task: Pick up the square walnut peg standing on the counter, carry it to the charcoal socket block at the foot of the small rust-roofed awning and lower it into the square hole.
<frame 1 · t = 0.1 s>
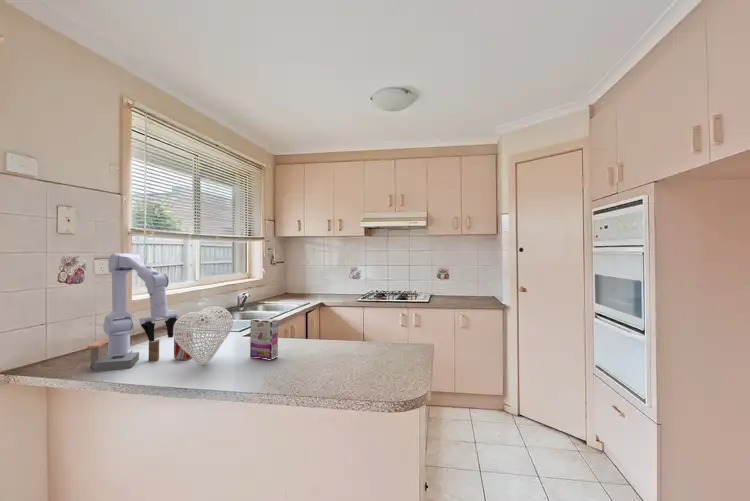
hand: (161, 339, 145), 10 cm above the table, tool pointing down, fingers open, 7 cm apart
socket block: (117, 364, 146), on the table
heart: (204, 365, 147), on the table
soda can: (183, 358, 156), on the table
candy bar box: (263, 358, 158), on the table
peg: (153, 360, 153), on the table
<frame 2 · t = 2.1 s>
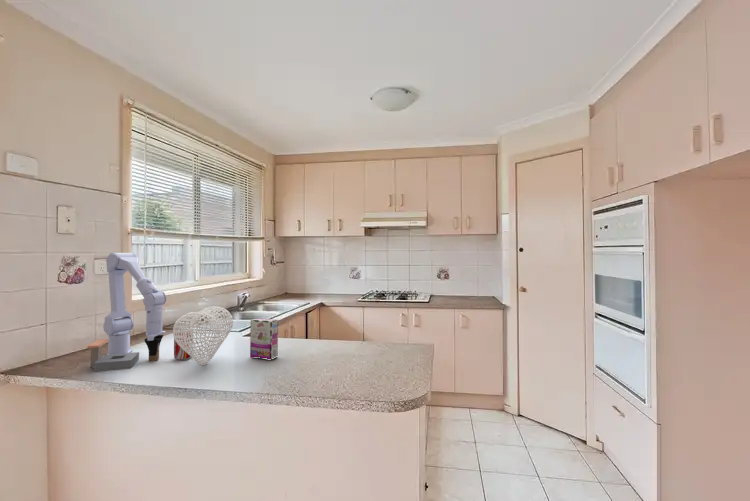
hand: (153, 354, 153), 2 cm above the table, tool pointing down, fingers closed on peg, 3 cm apart
peg: (153, 360, 153), on the table, touching gripper
everything else where it was.
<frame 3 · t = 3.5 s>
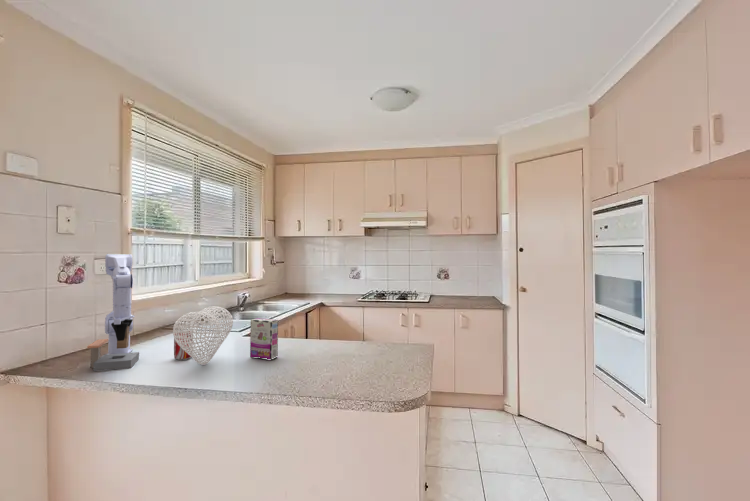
hand: (122, 339, 147), 10 cm above the table, tool pointing down, fingers closed on peg, 3 cm apart
peg: (122, 347, 147), point 7 cm above the table, touching gripper
everything else where it was.
when the fingers open (3 cm above the table, at t = 5.0 s): peg stays where it is, resting in socket block.
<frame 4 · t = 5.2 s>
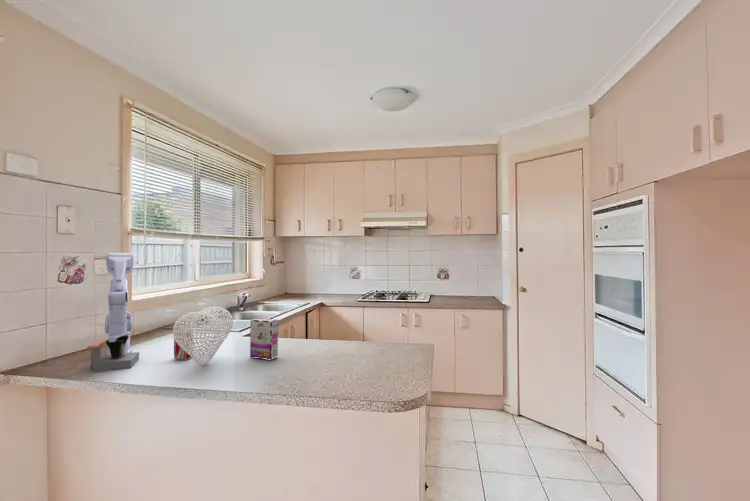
hand: (117, 356, 146), 3 cm above the table, tool pointing down, fingers open, 5 cm apart
peg: (118, 364, 146), resting in socket block
everything else where it was.
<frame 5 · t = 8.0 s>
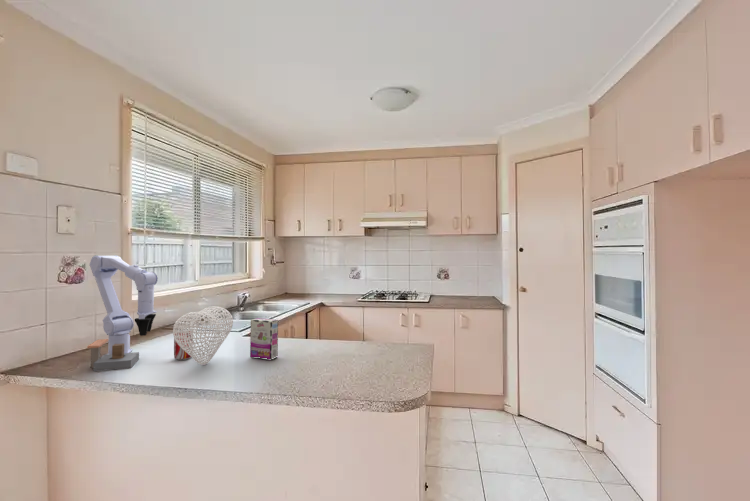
hand: (145, 333, 155), 10 cm above the table, tool pointing down, fingers open, 7 cm apart
nothing on the table moved.
at the end: peg 0.2 cm off-centre on the socket block, point 0.0 cm above the socket block's base; peg tilted 0°; the gripper is holding nothing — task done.
